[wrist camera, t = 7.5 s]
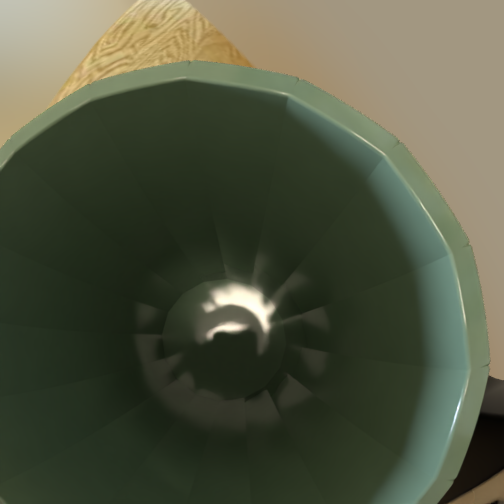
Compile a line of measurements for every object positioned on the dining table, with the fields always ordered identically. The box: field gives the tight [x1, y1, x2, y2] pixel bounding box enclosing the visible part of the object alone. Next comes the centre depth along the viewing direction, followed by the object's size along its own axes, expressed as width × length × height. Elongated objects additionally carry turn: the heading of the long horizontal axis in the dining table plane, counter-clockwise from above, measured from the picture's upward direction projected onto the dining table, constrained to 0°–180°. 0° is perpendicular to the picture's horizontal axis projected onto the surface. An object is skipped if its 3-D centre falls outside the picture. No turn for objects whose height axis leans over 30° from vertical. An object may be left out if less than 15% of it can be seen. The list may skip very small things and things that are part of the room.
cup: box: [0, 60, 490, 504], centre depth 8 cm, size 7×7×13 cm
